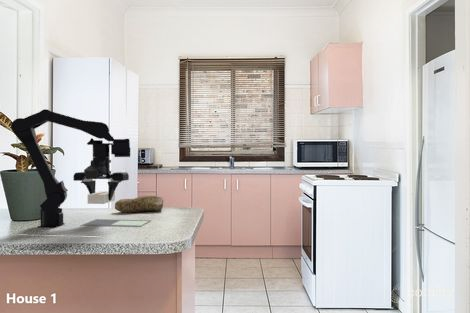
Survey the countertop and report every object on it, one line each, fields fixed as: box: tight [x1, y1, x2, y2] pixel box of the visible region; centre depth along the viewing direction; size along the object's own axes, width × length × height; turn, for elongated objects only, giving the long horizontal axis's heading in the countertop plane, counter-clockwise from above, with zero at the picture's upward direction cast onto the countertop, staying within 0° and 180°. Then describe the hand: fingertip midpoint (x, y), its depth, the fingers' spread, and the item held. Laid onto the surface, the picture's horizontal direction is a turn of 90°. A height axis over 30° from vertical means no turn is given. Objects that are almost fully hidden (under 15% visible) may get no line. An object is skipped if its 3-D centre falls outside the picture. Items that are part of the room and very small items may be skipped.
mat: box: [79, 218, 152, 228], centre depth 139 cm, size 22×12×1 cm, turn 83°
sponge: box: [114, 195, 164, 214], centre depth 166 cm, size 13×8×20 cm
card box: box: [87, 191, 116, 205], centre depth 140 cm, size 6×9×3 cm, turn 173°
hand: (101, 200), depth 140 cm, fingers closed on card box, 6 cm apart
